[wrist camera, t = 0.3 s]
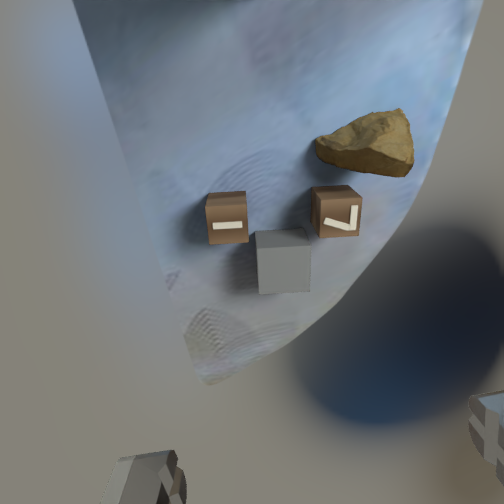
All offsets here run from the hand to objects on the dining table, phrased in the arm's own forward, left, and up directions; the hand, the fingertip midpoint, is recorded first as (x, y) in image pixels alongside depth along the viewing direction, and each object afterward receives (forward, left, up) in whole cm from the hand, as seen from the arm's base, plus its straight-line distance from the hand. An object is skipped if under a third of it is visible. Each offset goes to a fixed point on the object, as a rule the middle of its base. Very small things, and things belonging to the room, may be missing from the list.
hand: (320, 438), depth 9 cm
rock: (-3, +13, -39) cm, 41 cm away
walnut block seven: (+6, +10, -39) cm, 40 cm away
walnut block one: (+6, -4, -39) cm, 39 cm away
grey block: (+13, +3, -39) cm, 41 cm away
